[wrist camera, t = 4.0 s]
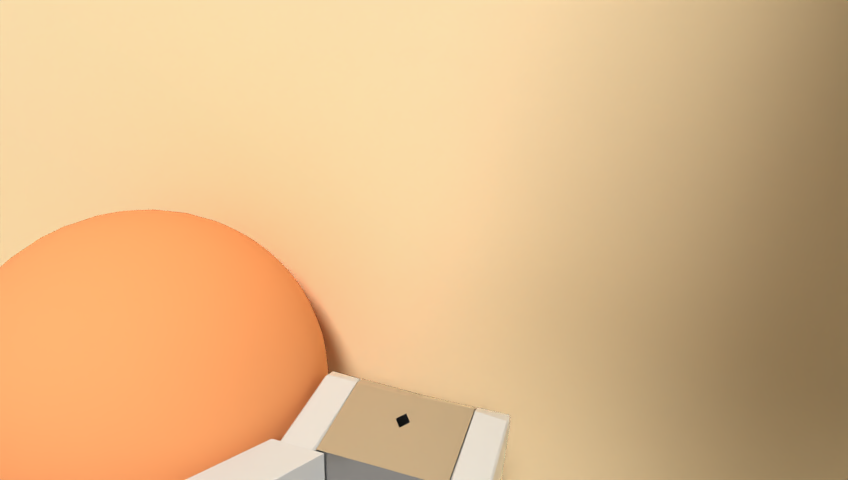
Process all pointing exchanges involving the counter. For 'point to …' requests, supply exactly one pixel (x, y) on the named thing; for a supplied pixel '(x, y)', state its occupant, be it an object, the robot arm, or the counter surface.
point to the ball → (148, 349)
